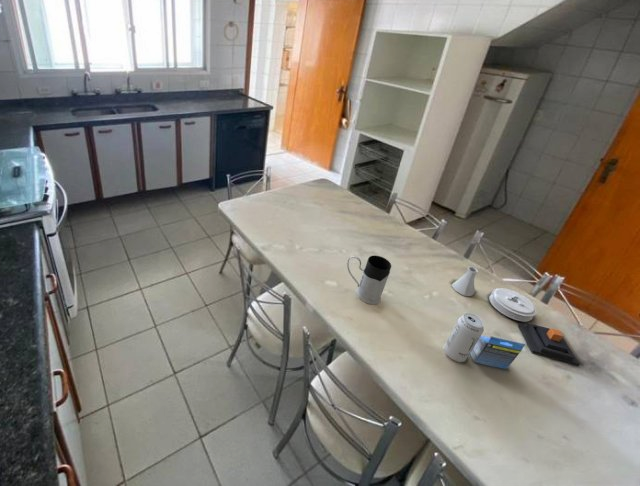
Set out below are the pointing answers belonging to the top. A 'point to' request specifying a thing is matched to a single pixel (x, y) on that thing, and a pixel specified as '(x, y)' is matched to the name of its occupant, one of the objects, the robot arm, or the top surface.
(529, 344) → the black shallow tray
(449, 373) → the top surface
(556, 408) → the top surface
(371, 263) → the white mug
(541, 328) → the black and orange block
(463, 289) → the flask
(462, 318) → the energy drink can
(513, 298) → the lid
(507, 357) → the label tape box
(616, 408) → the top surface
